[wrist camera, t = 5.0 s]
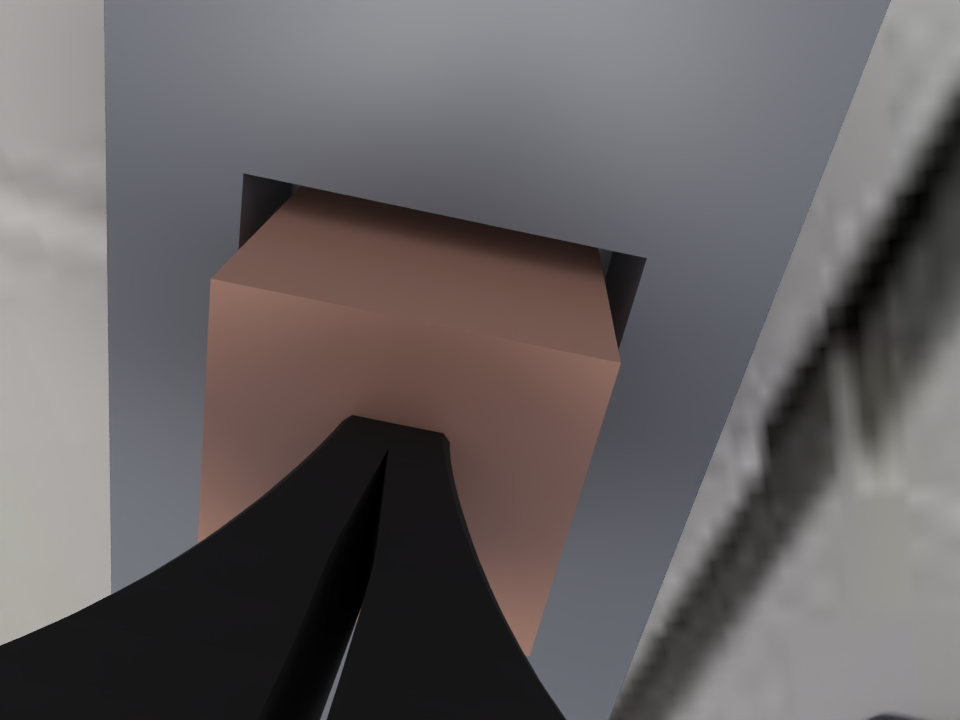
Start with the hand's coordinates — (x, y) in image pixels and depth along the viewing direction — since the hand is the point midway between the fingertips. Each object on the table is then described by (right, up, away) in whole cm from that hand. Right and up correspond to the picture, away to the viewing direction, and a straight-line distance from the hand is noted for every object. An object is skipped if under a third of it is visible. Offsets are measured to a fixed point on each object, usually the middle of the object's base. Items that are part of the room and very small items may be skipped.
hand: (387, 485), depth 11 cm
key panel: (-1, -2, +9) cm, 9 cm away
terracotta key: (0, +2, +4) cm, 4 cm away
